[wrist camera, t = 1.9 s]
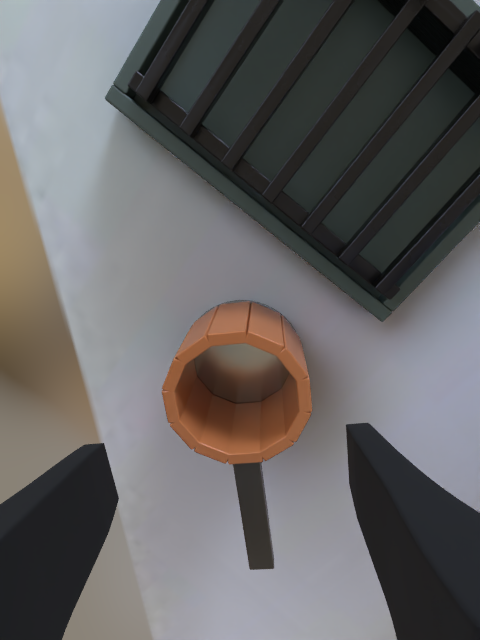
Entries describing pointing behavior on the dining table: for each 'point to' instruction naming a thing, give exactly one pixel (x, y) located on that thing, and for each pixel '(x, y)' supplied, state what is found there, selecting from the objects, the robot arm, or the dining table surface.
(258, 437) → the saucepan
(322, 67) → the dish rack
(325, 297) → the dining table surface
